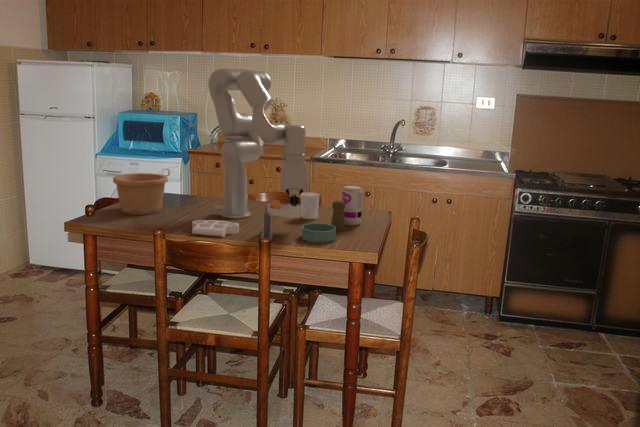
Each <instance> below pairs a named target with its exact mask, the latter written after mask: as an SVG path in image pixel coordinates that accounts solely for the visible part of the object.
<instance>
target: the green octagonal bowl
mask: <svg viewBox="0 0 640 427" xmlns="http://www.w3.org/2000/svg"><path fill="white" fill-rule="evenodd" d="M301 232H302V233H301V239H302V240H303V241H307V242H310V243H330V242H333V241H336V239H337V238H336V236H337V235H336V234H337V230H336V227H335V226H333V225H331V224H328V223H325V222H324V223H318V222H311V223H305V224H302V227H301Z"/></svg>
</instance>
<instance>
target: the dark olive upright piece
mask: <svg viewBox="0 0 640 427" xmlns="http://www.w3.org/2000/svg"><path fill="white" fill-rule="evenodd" d="M331 206H332V209H333V210H332V217H331V222H330V225H333V226H335V227H336V231H344V230H346V224H345V218H344V209H345V202H343V201H342V200H334V201H332V204H331Z"/></svg>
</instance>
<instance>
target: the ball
mask: <svg viewBox="0 0 640 427" xmlns="http://www.w3.org/2000/svg"><path fill="white" fill-rule="evenodd" d="M269 204H270V207H271V208H274V209H280V208H281V205H282V203H281V201H280V200H278V199H274V200H272V201H271V202H270V203H269Z"/></svg>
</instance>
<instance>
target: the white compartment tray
mask: <svg viewBox="0 0 640 427" xmlns="http://www.w3.org/2000/svg"><path fill="white" fill-rule="evenodd" d="M191 223H192V224H191V228H192V230H191V234H192V235H194V236H195V235H198V236H199V235H200V236H208V237H221V238H224V237H225V236H226V234H227V235H235V233H236V234H239V233H240V232H239V231H240V224H239V223H238V222H230V221H227V220H216V219H207V220H205V219H197V220H192V222H191ZM238 232H239V233H238Z"/></svg>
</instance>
